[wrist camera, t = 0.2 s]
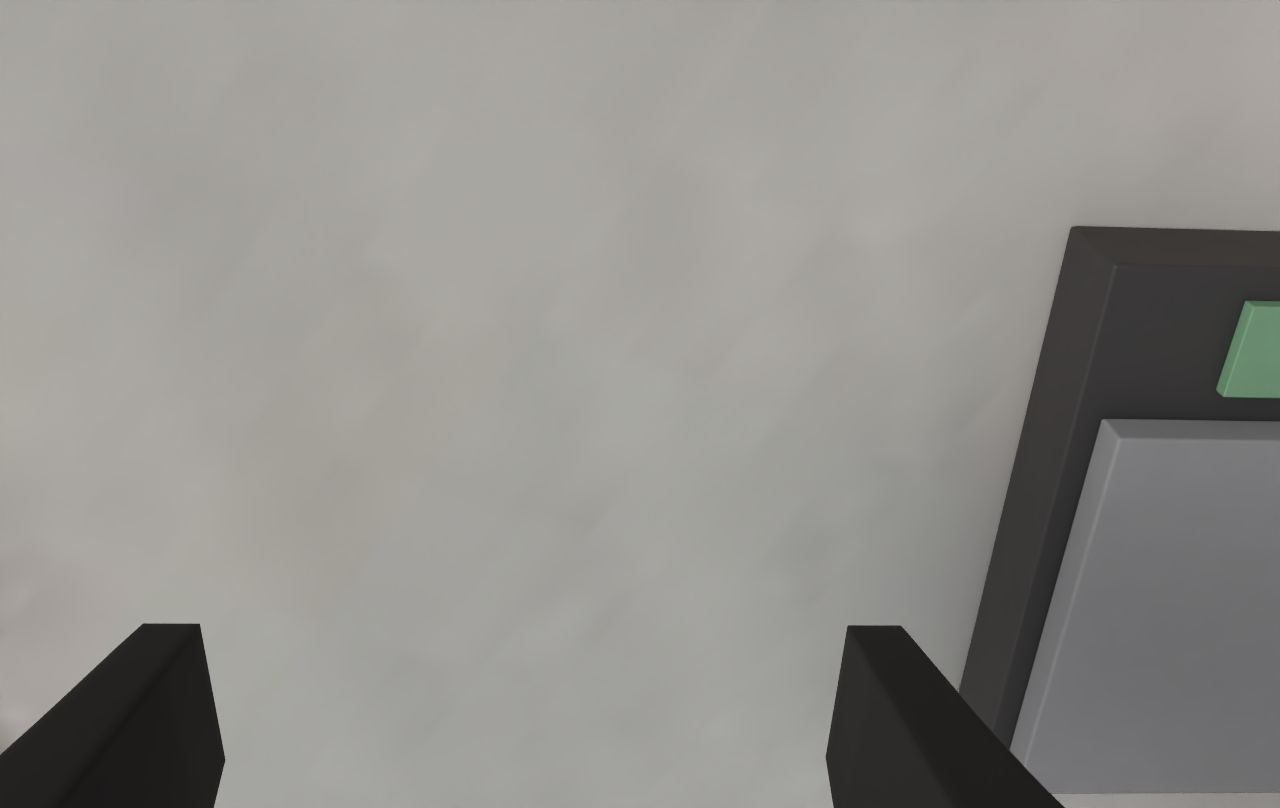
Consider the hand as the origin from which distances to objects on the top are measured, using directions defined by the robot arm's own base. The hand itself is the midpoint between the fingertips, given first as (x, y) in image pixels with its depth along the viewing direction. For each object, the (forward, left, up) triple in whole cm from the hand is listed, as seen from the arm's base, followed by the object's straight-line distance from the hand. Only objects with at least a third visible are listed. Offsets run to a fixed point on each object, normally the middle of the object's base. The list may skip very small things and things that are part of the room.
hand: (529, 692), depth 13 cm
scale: (-4, -15, -10) cm, 18 cm away
